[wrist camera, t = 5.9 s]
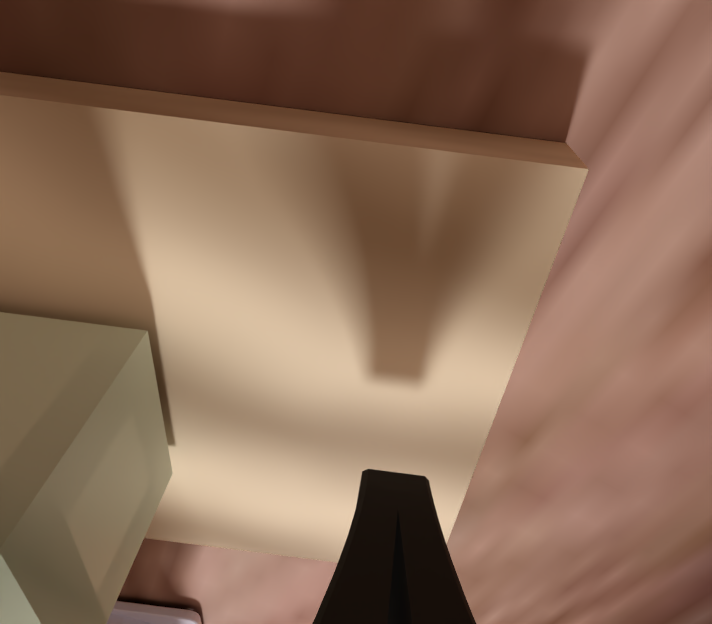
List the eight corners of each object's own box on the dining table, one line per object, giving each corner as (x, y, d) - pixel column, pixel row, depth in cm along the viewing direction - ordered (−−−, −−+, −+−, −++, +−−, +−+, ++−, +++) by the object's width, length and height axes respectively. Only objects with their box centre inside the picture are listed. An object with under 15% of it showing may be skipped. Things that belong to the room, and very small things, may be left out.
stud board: (432, 533, 18) (445, 771, 13) (-175, 456, 18) (-411, 662, 13) (566, 142, 10) (749, 353, 5) (-532, 4, 10) (-1570, 60, 5)
